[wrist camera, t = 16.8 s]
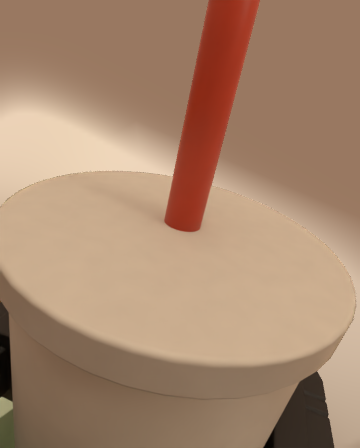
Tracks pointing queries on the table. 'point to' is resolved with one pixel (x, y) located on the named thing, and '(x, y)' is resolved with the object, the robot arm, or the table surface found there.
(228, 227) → the straw cup
